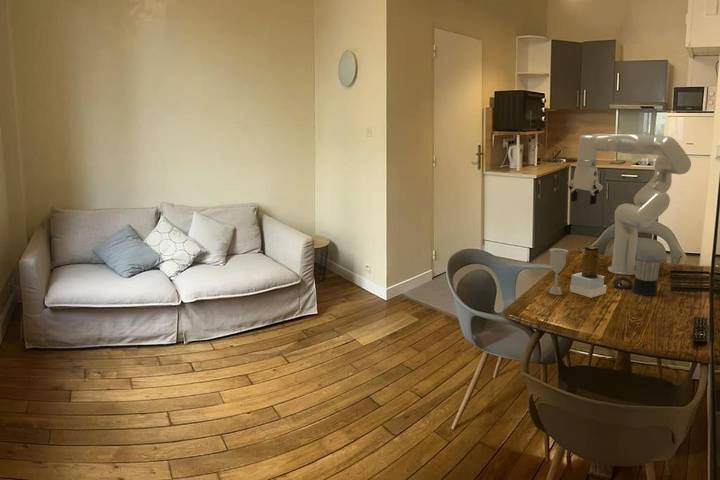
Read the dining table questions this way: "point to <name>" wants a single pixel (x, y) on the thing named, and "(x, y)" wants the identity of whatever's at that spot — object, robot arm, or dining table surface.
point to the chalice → (557, 266)
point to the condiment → (590, 263)
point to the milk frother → (643, 276)
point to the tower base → (588, 291)
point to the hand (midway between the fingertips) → (583, 202)
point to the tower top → (586, 281)
